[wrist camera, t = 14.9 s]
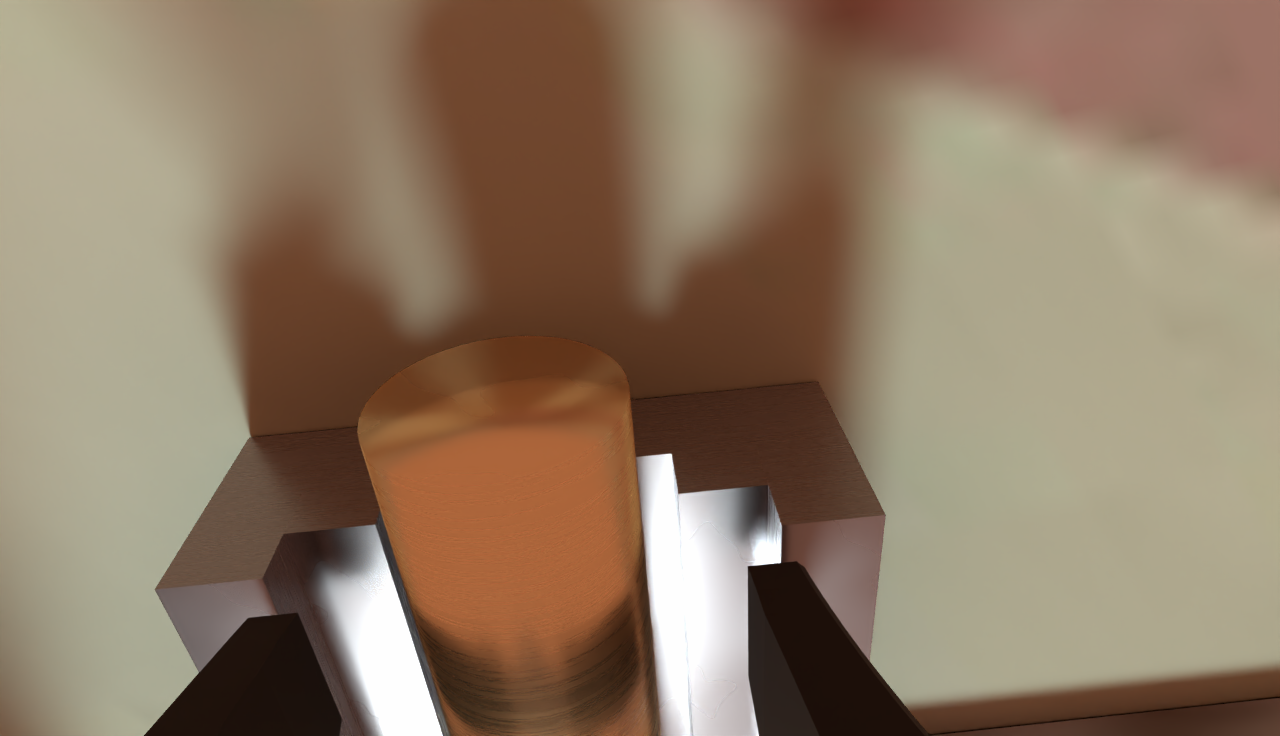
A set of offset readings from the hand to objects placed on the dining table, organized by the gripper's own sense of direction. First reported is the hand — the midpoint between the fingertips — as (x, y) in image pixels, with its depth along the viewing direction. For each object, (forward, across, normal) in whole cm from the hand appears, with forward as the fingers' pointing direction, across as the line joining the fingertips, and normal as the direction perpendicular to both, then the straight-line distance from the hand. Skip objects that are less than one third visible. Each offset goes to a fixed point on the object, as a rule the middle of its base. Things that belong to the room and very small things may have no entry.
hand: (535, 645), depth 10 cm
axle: (+2, 0, +4) cm, 4 cm away
